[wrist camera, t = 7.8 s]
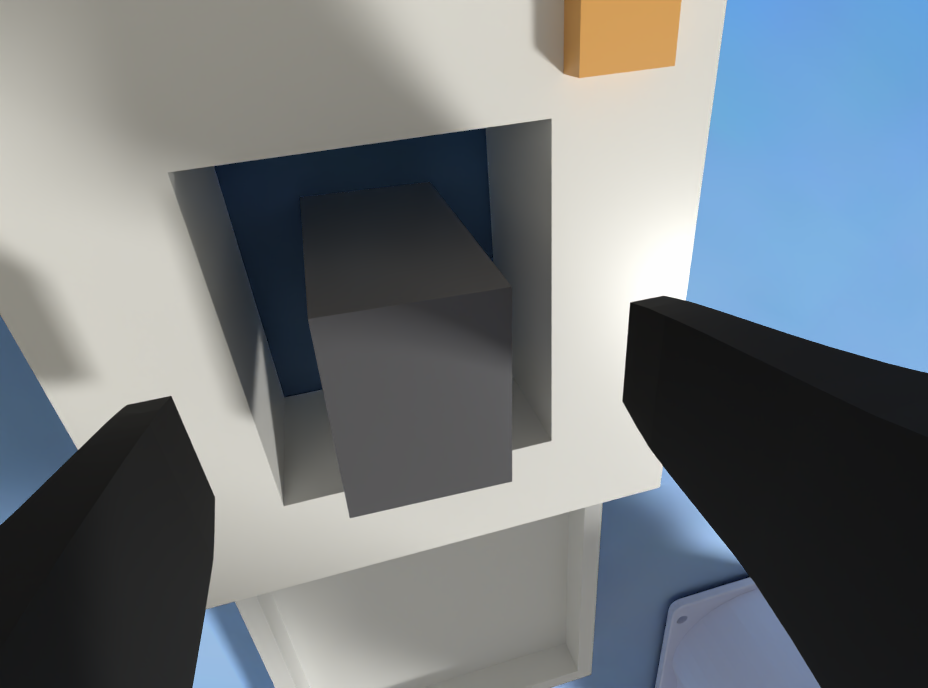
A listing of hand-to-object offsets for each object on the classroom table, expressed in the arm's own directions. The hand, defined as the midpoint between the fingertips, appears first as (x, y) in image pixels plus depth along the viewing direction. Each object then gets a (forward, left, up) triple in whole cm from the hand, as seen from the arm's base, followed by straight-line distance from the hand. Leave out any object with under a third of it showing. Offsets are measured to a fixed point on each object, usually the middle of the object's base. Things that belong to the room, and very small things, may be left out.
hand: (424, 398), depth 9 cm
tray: (-13, 0, -6) cm, 14 cm away
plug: (0, 0, -6) cm, 6 cm away
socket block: (0, 0, -6) cm, 6 cm away
